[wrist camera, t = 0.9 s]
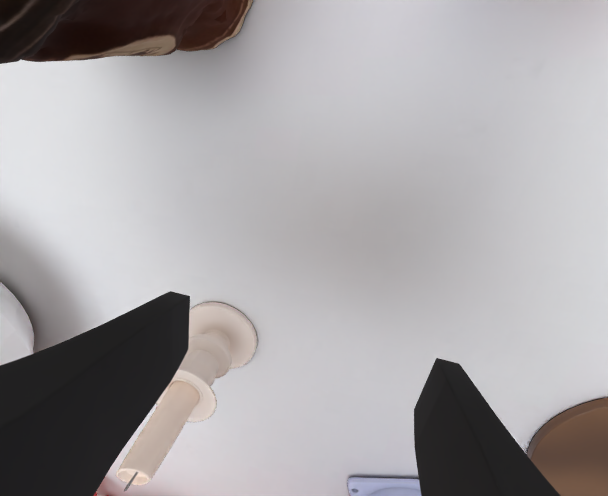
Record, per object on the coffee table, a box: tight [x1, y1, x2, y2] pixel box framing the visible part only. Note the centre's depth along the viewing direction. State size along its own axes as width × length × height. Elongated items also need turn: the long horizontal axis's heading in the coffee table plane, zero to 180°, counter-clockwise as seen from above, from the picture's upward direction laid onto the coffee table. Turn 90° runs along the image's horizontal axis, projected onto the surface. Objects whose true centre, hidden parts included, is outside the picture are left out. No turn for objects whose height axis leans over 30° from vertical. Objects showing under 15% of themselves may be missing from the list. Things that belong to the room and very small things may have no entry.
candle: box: [116, 302, 257, 491], centre depth 19 cm, size 5×5×10 cm
